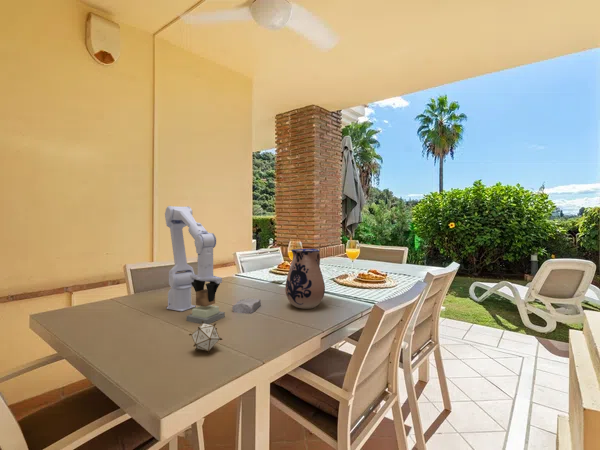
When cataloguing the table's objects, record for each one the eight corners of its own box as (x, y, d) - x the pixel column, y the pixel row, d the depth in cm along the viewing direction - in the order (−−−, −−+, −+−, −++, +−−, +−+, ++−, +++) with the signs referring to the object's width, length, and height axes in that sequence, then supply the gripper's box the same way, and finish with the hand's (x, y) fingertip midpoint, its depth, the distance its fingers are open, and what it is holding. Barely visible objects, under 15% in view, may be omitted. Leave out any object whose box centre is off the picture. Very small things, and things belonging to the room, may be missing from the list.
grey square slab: (186, 322, 113) (186, 315, 113) (205, 314, 122) (205, 308, 122) (206, 326, 109) (206, 319, 109) (224, 318, 118) (224, 312, 118)
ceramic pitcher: (278, 309, 128) (278, 250, 127) (297, 297, 147) (297, 246, 147) (317, 314, 121) (317, 252, 121) (332, 301, 141) (332, 247, 140)
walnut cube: (195, 304, 114) (195, 291, 114) (205, 301, 119) (205, 289, 119) (205, 306, 112) (205, 293, 112) (215, 303, 117) (215, 290, 116)
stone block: (231, 317, 124) (253, 313, 122) (229, 305, 124) (251, 301, 122) (241, 309, 135) (262, 306, 134) (240, 299, 136) (260, 295, 134)
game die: (201, 361, 89) (195, 328, 94) (228, 350, 90) (221, 318, 94) (187, 358, 81) (182, 323, 86) (217, 346, 82) (210, 311, 87)
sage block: (192, 315, 114) (192, 309, 114) (205, 310, 120) (205, 304, 120) (206, 318, 111) (206, 311, 111) (219, 312, 117) (218, 306, 117)
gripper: (183, 265, 115) (183, 300, 115) (212, 267, 108) (212, 305, 109) (197, 262, 121) (197, 296, 121) (225, 265, 115) (225, 300, 115)
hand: (205, 300), depth 115 cm, fingers closed on walnut cube, 5 cm apart
